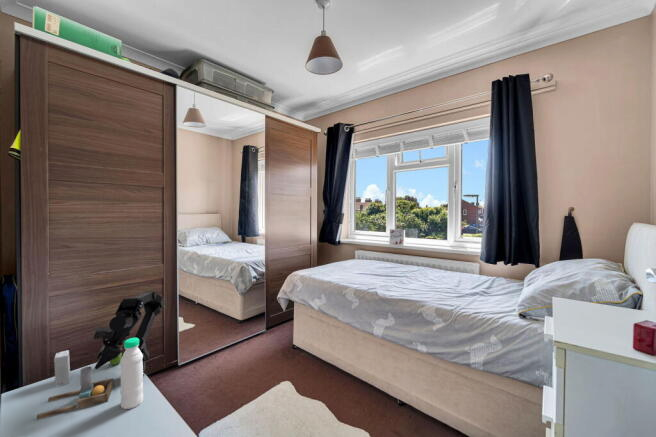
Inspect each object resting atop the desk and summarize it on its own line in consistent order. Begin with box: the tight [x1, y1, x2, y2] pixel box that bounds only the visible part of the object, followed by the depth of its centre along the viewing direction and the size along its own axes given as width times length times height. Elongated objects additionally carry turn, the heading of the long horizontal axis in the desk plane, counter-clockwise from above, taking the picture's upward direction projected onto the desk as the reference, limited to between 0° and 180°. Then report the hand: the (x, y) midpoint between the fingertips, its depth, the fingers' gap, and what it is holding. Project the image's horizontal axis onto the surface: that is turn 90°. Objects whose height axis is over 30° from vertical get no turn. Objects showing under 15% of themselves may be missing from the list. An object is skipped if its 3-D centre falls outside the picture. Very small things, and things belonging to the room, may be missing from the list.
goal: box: [35, 378, 115, 420], centre depth 107 cm, size 20×11×3 cm, turn 118°
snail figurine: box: [108, 344, 123, 366], centre depth 131 cm, size 5×6×12 cm
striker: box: [78, 366, 93, 400], centre depth 108 cm, size 3×6×12 cm, turn 29°
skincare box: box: [53, 349, 71, 387], centre depth 118 cm, size 6×4×12 cm
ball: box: [91, 385, 105, 396], centre depth 110 cm, size 4×4×4 cm
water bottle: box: [119, 337, 144, 410], centre depth 106 cm, size 7×7×25 cm
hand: (96, 363), depth 112 cm, fingers open, 9 cm apart
